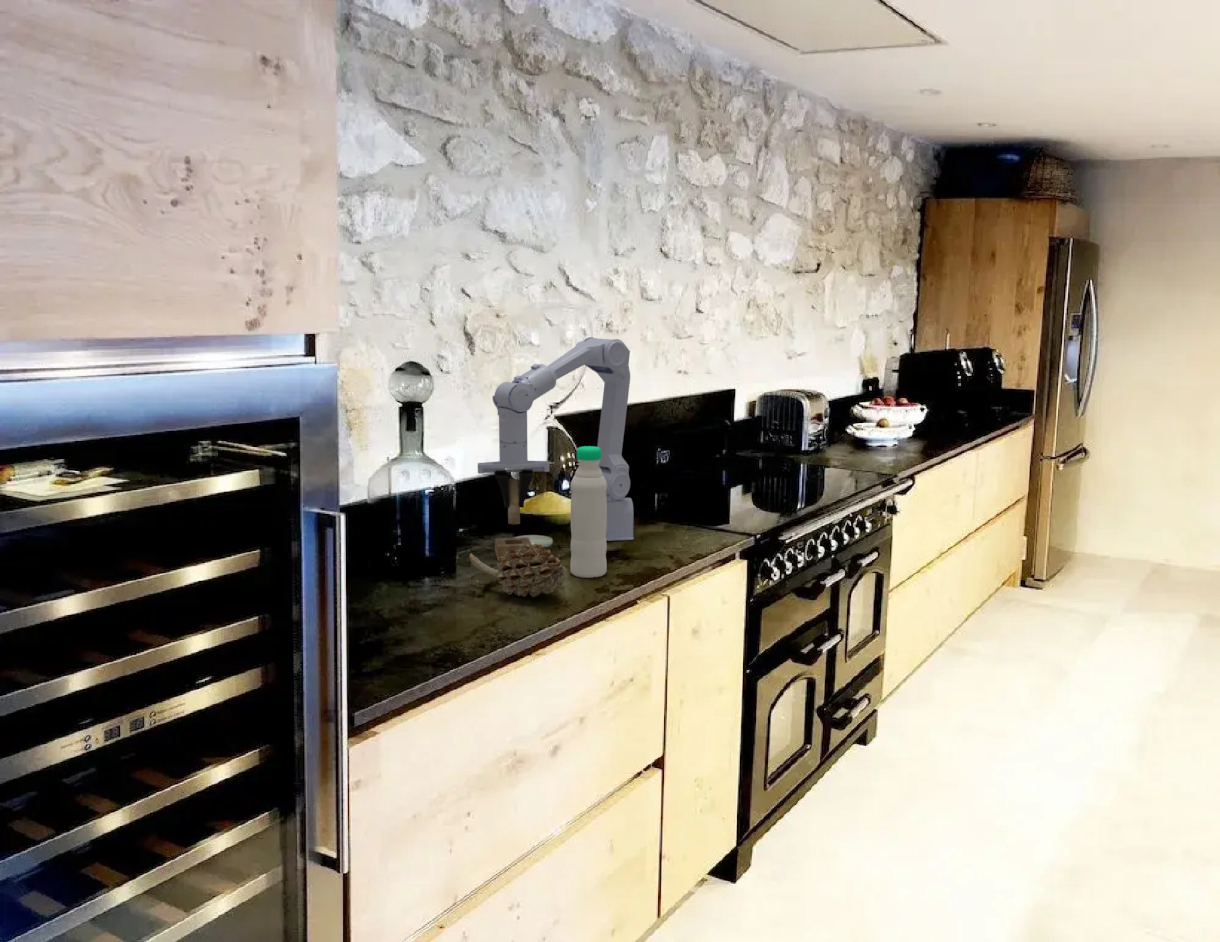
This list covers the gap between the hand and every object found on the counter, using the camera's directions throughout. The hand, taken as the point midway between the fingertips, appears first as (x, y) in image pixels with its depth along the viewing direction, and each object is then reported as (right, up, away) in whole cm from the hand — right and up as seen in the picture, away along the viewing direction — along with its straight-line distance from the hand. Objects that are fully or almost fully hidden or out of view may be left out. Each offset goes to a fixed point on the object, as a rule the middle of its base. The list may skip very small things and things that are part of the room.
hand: (514, 506), depth 224 cm
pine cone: (+2, -15, -25) cm, 30 cm away
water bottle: (+16, -13, -12) cm, 23 cm away
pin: (0, -3, +1) cm, 3 cm away
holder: (0, -10, +1) cm, 10 cm away
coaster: (+3, -8, +12) cm, 15 cm away
